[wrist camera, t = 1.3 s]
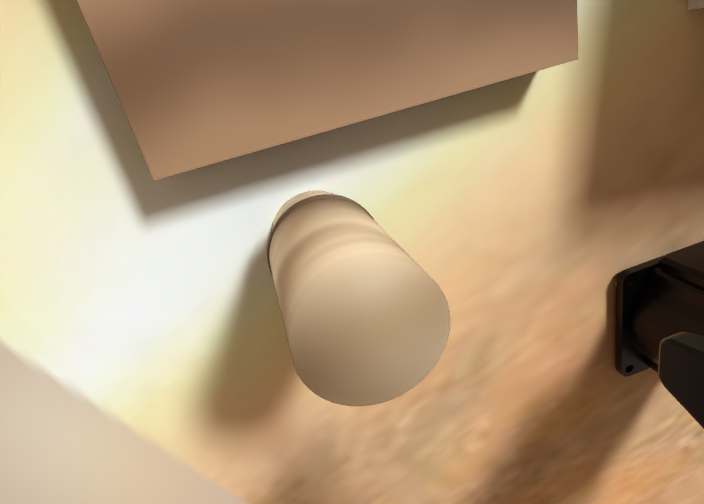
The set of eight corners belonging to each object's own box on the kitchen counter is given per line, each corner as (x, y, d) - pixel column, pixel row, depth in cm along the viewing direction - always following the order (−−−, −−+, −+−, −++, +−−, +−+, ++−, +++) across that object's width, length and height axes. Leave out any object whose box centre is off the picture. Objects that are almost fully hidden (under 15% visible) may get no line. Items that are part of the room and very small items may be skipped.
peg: (374, 261, 19) (462, 374, 12) (280, 292, 19) (314, 430, 12) (351, 168, 18) (439, 235, 11) (248, 199, 17) (265, 293, 10)
